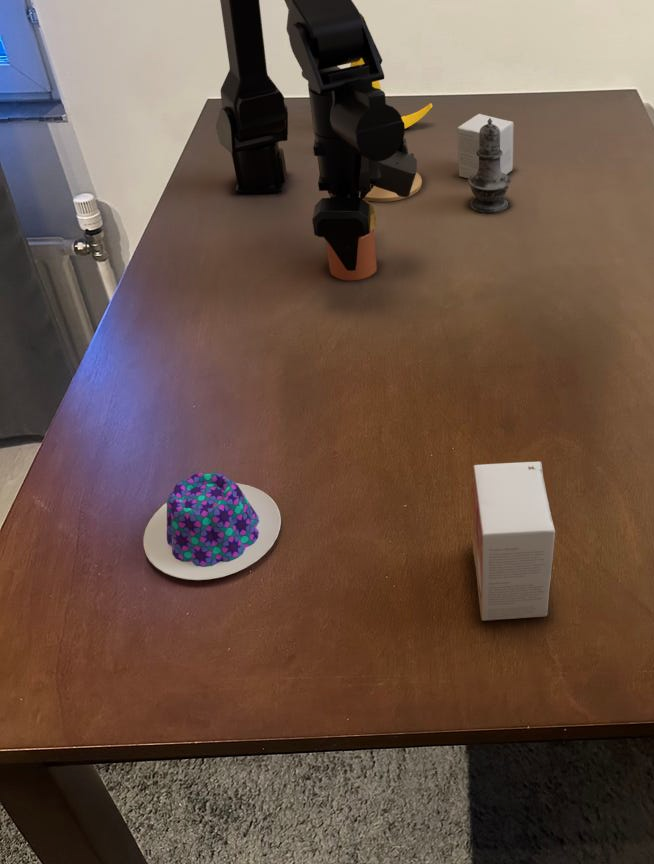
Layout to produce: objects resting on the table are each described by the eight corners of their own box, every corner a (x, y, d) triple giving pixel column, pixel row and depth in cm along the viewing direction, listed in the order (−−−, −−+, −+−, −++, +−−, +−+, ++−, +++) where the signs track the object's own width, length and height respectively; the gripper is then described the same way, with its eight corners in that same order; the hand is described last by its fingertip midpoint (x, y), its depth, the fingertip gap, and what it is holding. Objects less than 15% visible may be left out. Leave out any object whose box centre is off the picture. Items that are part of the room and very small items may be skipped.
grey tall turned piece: (511, 196, 128) (513, 110, 119) (508, 215, 123) (510, 127, 115) (470, 194, 128) (470, 108, 120) (466, 213, 124) (465, 126, 115)
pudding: (254, 594, 75) (243, 552, 71) (121, 575, 76) (103, 533, 73) (299, 496, 83) (291, 454, 80) (179, 481, 85) (165, 439, 81)
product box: (513, 171, 133) (515, 121, 128) (492, 186, 130) (492, 136, 125) (479, 161, 136) (479, 112, 131) (457, 176, 132) (456, 126, 127)
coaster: (344, 202, 126) (343, 198, 126) (348, 169, 134) (348, 165, 134) (421, 201, 126) (421, 197, 126) (422, 167, 134) (421, 163, 134)
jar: (327, 281, 111) (320, 228, 106) (331, 257, 115) (324, 205, 110) (376, 280, 111) (371, 227, 106) (377, 255, 115) (373, 204, 110)
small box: (472, 551, 78) (471, 462, 71) (535, 547, 79) (541, 458, 71) (480, 623, 73) (480, 534, 65) (548, 618, 73) (555, 530, 66)
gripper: (409, 163, 94) (416, 292, 105) (411, 96, 107) (418, 218, 118) (303, 165, 94) (322, 294, 105) (319, 98, 107) (334, 219, 118)
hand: (353, 254), depth 112 cm, fingers open, 7 cm apart
